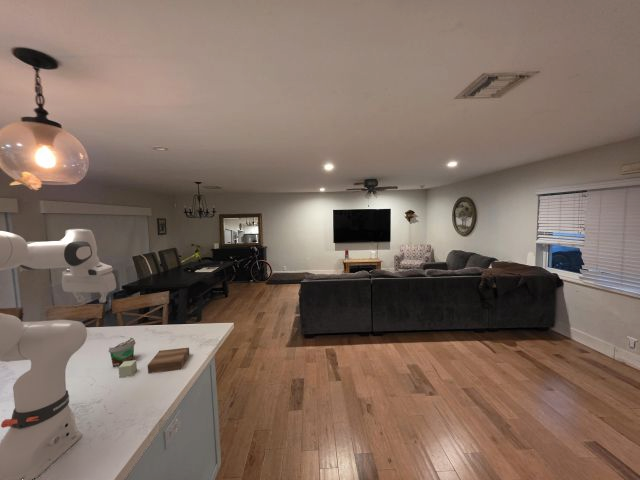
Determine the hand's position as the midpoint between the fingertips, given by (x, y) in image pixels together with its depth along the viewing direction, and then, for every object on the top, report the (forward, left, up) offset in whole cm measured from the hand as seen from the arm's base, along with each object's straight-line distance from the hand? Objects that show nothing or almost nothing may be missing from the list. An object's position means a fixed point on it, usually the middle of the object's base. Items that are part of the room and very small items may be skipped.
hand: (92, 301), depth 108 cm
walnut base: (+16, -21, -38) cm, 46 cm away
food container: (+23, +1, -38) cm, 44 cm away
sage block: (+11, -5, -38) cm, 40 cm away
